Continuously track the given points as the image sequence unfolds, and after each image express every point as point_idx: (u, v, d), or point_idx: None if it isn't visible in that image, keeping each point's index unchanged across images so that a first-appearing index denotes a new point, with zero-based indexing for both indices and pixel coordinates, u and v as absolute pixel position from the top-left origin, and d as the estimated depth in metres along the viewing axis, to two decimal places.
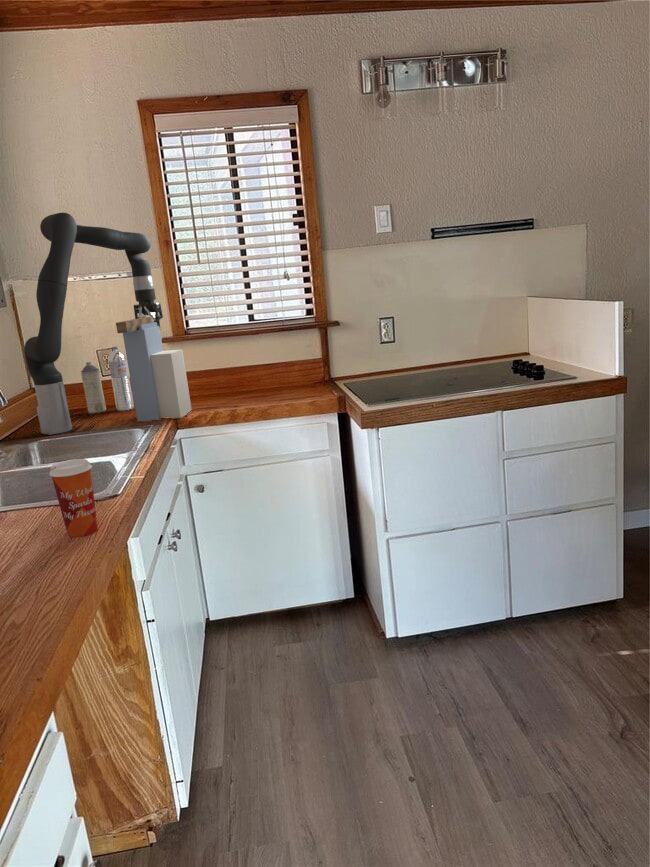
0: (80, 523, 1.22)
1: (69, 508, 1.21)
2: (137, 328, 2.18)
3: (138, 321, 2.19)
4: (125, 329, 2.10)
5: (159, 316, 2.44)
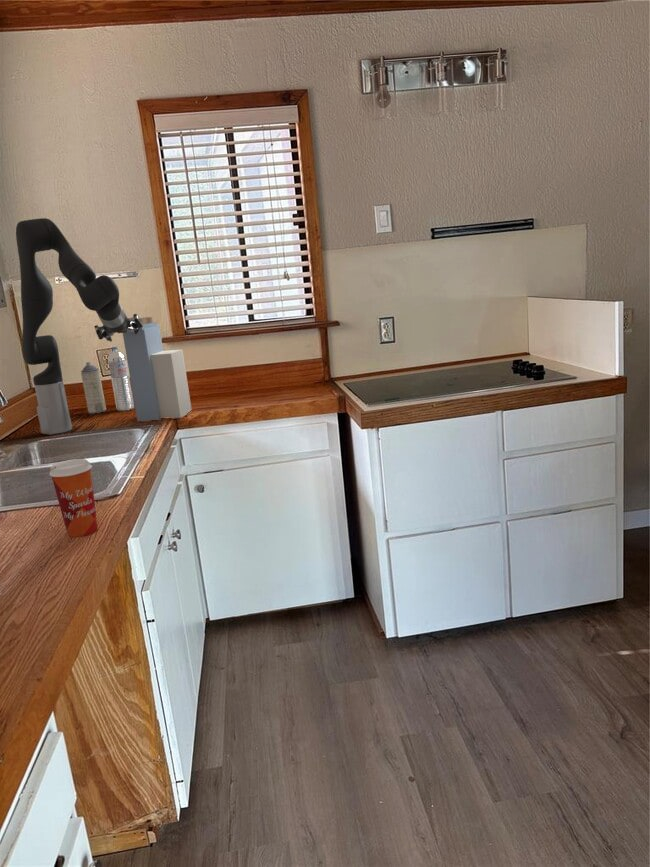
0: (80, 523, 1.22)
1: (69, 508, 1.21)
2: None
3: None
4: None
5: (141, 323, 2.07)
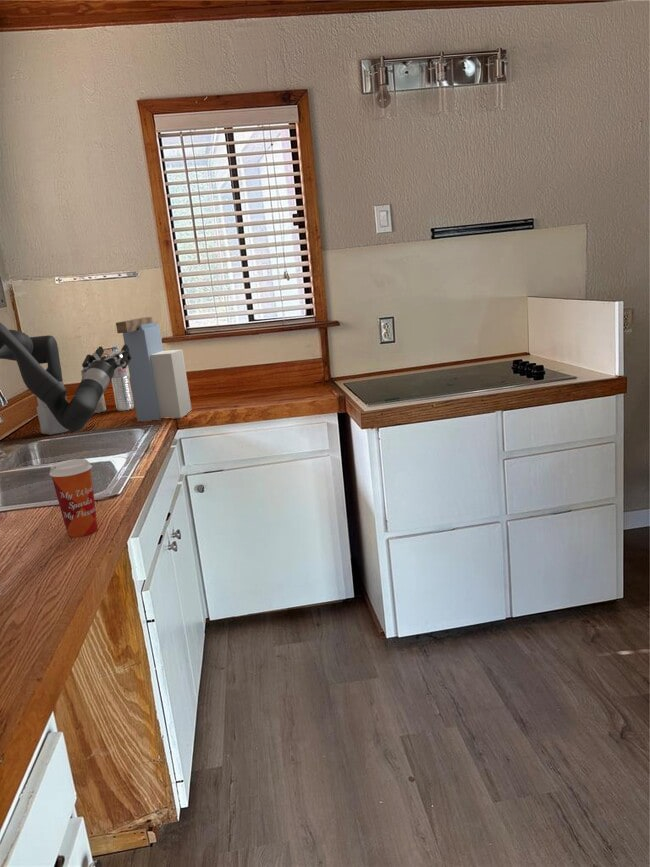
0: (80, 523, 1.22)
1: (69, 508, 1.21)
2: (137, 328, 2.18)
3: (138, 321, 2.19)
4: (125, 329, 2.10)
5: (130, 356, 2.00)
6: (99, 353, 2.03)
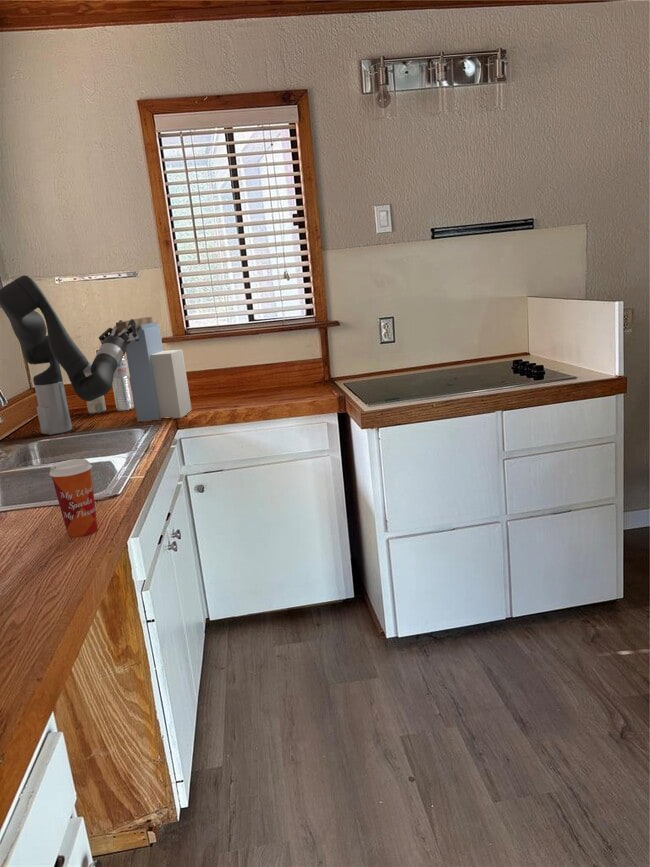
0: (80, 523, 1.22)
1: (69, 508, 1.21)
2: (137, 328, 2.18)
3: (138, 321, 2.19)
4: None
5: (136, 330, 2.10)
6: None
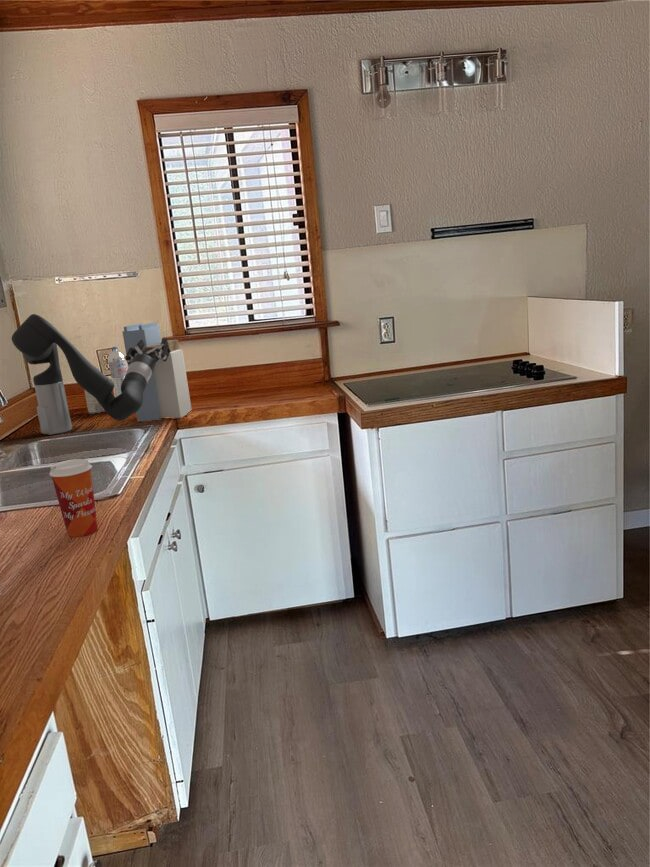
0: (80, 523, 1.22)
1: (69, 508, 1.21)
2: None
3: None
4: None
5: (169, 349, 2.12)
6: (140, 346, 2.15)
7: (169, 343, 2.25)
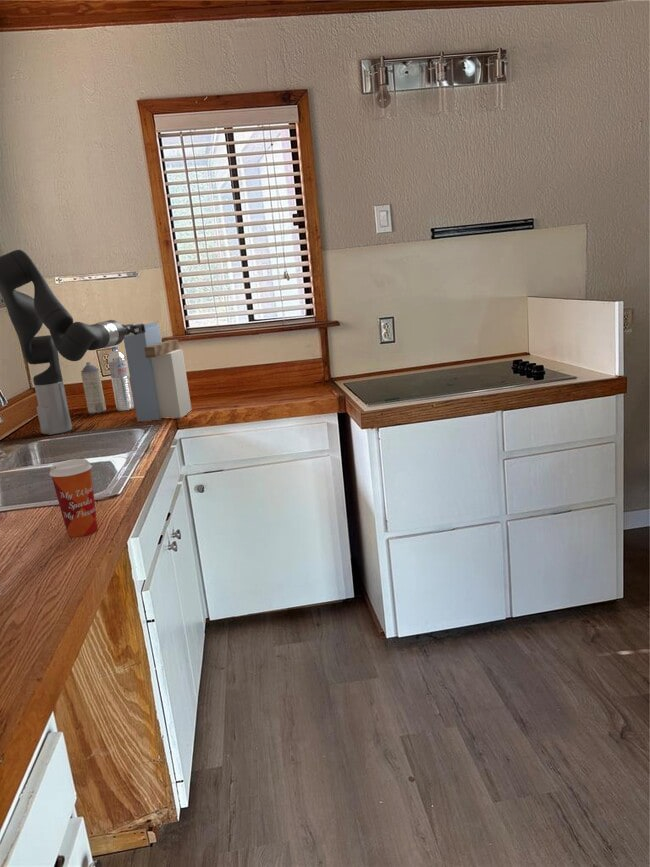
0: (80, 523, 1.22)
1: (69, 508, 1.21)
2: (164, 352, 2.20)
3: (165, 345, 2.21)
4: (154, 354, 2.13)
5: (144, 329, 1.95)
6: None
7: (169, 343, 2.25)
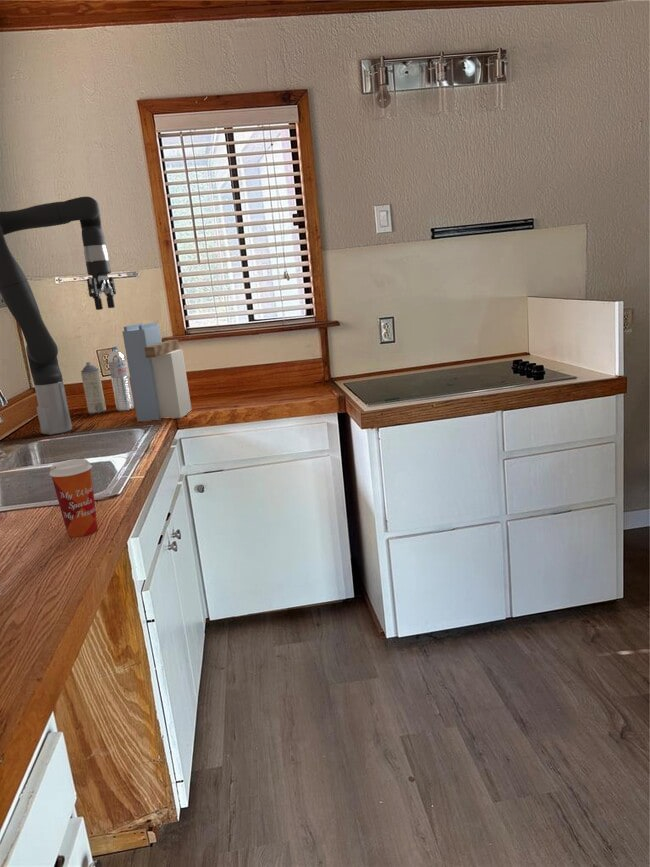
0: (80, 523, 1.22)
1: (69, 508, 1.21)
2: (164, 352, 2.20)
3: (165, 345, 2.21)
4: (154, 354, 2.13)
5: (91, 294, 2.11)
6: (110, 299, 2.21)
7: (169, 343, 2.25)
